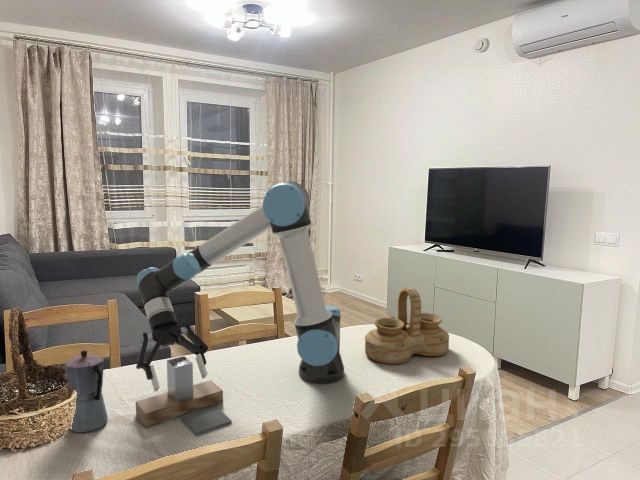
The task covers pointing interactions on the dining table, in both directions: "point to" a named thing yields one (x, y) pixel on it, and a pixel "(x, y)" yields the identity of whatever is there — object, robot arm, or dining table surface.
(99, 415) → the moka pot
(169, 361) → the grey rectangular block
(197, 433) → the rubber pad
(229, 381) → the dining table surface
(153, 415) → the body
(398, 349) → the ceramic vessel
